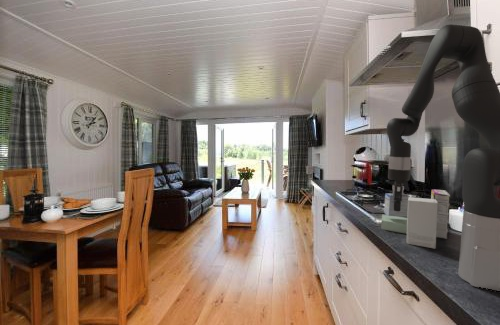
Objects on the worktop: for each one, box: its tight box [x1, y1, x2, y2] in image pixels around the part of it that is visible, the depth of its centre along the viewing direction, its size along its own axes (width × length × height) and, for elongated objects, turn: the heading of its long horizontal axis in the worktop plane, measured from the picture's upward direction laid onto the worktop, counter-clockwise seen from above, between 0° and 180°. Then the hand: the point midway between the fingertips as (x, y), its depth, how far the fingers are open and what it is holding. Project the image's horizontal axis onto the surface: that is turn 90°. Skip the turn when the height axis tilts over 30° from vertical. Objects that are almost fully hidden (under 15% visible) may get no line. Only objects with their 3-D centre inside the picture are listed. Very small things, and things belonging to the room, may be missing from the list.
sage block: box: [380, 213, 407, 235], centre depth 98 cm, size 10×10×4 cm
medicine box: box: [383, 192, 411, 218], centre depth 97 cm, size 8×4×9 cm, turn 82°
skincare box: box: [406, 196, 438, 250], centre depth 82 cm, size 8×7×16 cm
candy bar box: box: [430, 189, 451, 240], centre depth 92 cm, size 11×5×16 cm, turn 147°
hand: (396, 209), depth 97 cm, fingers closed on medicine box, 5 cm apart
